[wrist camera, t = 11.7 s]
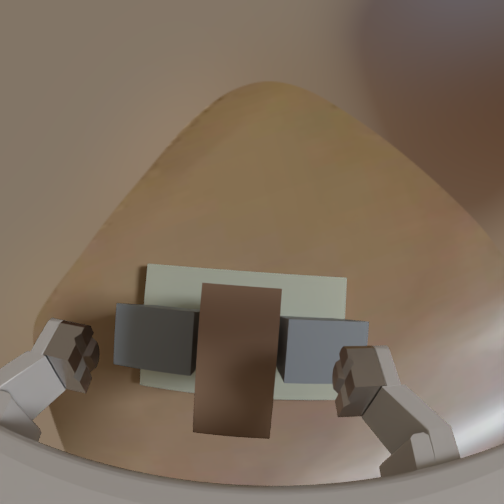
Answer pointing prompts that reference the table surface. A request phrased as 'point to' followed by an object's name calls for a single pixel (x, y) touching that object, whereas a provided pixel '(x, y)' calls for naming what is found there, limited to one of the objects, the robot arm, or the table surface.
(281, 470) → the table surface
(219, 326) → the walnut slat
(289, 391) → the notched receiver
